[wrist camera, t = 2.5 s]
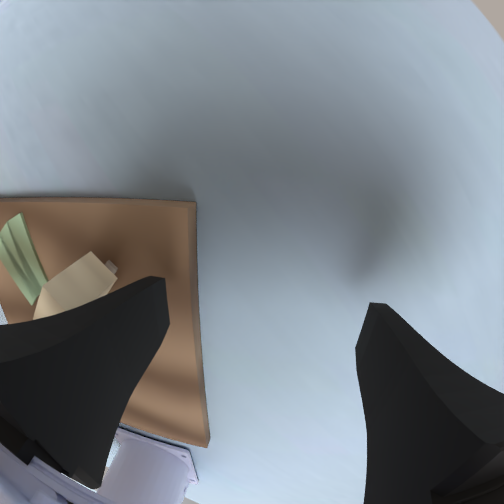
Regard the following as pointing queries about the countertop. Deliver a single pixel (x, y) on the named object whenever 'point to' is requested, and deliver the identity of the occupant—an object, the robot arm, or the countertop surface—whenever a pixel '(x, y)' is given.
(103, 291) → the beige elongated block piece
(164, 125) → the countertop surface
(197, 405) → the base
